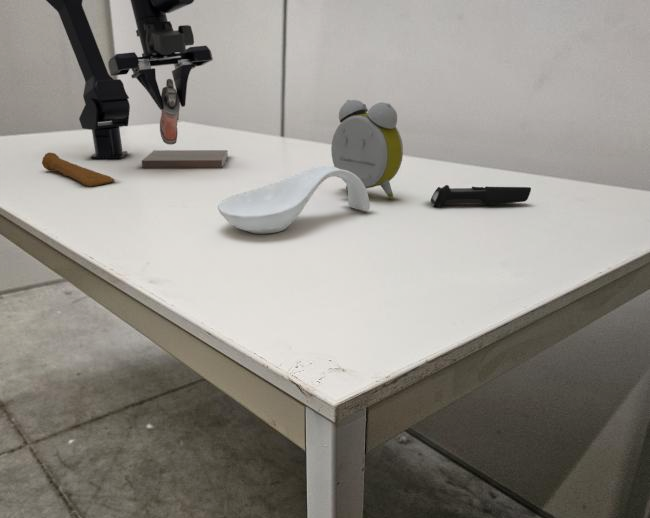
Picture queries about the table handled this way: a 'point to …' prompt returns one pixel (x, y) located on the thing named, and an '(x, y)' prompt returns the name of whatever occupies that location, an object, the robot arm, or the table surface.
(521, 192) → the electric trimmer
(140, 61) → the robot arm
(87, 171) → the primitive tool
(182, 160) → the board
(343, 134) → the alarm clock
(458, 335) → the table surface
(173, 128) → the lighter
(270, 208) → the spoon rest
